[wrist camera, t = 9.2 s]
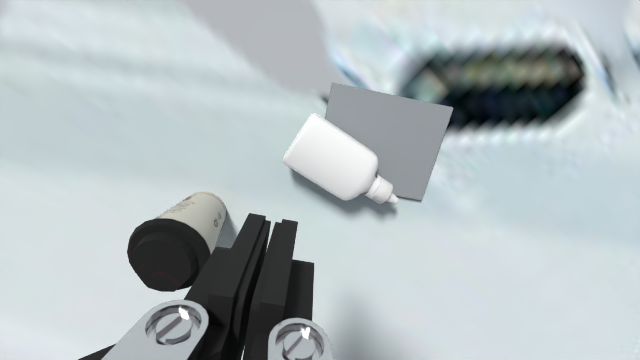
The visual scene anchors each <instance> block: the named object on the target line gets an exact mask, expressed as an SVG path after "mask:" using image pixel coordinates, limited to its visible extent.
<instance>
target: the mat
mask: <svg viewBox="0 0 640 360" xmlns="http://www.w3.org/2000/svg"><path fill="white" fill-rule="evenodd" d="M452 111H453V108H452V107H448V106H443V105H438V104H433V103H428V102H424V101H419V100H414V99H409V98H404V97H399V96H395V95H390V94H385V93H380V92H375V91H371V90H366V89H361V88H356V87H351V86H346V85H342V84H337V83H332V86H331V91H330V96H329V101H328V106H327V111H326V116H325V119H326V120H327V121H329V122H330V123H332V124H333V125H335V126H336V127H338V128H339V129H341V130H342V131H344V132H345V133H347V134H348V135H350V136H351V137H352V138H354V139H355V140H357V141H358V142H360V143H361V144H363V145H364V146H366V147H367V148H368V149H370V150H371V151H373V152H374V153H375V154H376V156H377V158H378V168H377V171H376V174H378V175H379V176H381V177H382V178H384V179H385V180H387V181H388V182H390V183H391V184H392V185H393V190H392V193H393V194H394V195H395V196H401V197H406V198H412V199H417V200H422V198H423V195H424V192H425V189H426V186H427V184H428V181H429V178H430V175H431V172H432V169H433V166H434V163H435V160H436V157H437V154H438V151H439V148H440V146H441V143H442V140H443V137H444V134H445V131H446V128H447V125H448V122H449V119H450V116H451V113H452Z"/></svg>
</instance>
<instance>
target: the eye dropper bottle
mask: <svg viewBox="0 0 640 360" xmlns="http://www.w3.org/2000/svg"><path fill="white" fill-rule="evenodd" d="M283 163H284V164H285V165H286V166H288V167H290V168H291V169H293V170H294V171H296V172H298V173H299V174H301V175H302V176H304V177H306V178H307V179H309V180H310V181H312V182H314V183H315V184H317V185H318V186H320V187H322V188H323V189H325V190H326V191H328V192H330V193H331V194H333V195H335V196H336V197H338V198H340V199H342V200H344V201H348V200H351V199H353V198H355V197H357V196H358V195H360V194H361V193H363V194H364V195H365V196H367V197H368V198H370V199H372V200H373V201H375V202H376V203H378V204H382V203H384V202H385V201H388V202H391V203H393V204H396V203H397V202H398V198H397V197H396V196H395V195H394V194H393V193H392V190H393V185H392V184H391V183H390V182H388V181H387V180H385V179H384V178H382V177H381V176H379V175H378V174H376V171H377V168H378V158H377V156H376V154H375V153H374V152H373V151H371V150H370V149H368V148H367V147H366V146H364V145H363V144H361V143H360V142H358V141H357V140H355V139H354V138H352V137H351V136H350V135H348V134H347V133H345V132H344V131H342V130H341V129H339V128H338V127H336V126H335V125H333V124H332V123H330V122H329V121H327V120H326V119H324V118H323V117H321V116H320V115H318V114H316V113H313V114H311V115H310V116H309V117H308V119H307V120H306V122H305V123H304V125H303V126H302V128H301V129H300V131H299V133H298V134H297V136H296V137H295V139H294V140H293V142H292V144H291V145H290V147H289V148H288V150H287V152H286V153H285V155H284V158H283Z"/></svg>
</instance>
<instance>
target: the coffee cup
mask: <svg viewBox="0 0 640 360" xmlns="http://www.w3.org/2000/svg"><path fill="white" fill-rule="evenodd" d="M225 217H226V207H225V205H224V203H223V202H222V200H221V199H220V198H219V197H217V196H216V195H214V194H212V193H209V192H197V193H194V194H193V195H191V196H189V197H188V198H186V199H185V200H183V201H182V202H180V203H178V204H177V205H175V206H174V207H172V208H171V209H169V210H167V211H166V212H164V213H163V214H161V215H160V216H158V217H156V218H155V219H153V220H149V221H145V222H144V223H142V224H141V225H140V226H138V227H137V228H136V229H135V230H134V232H133V233H132V235H131V237H130V240H129V244H128V250H127V254H128V258H129V263H130V264H131V266H132V268H133V269H134V271H135V272H136V273H137V275H138V276H139V278H140V279H141V280H142V281H143V283H144V284H145V285H146V286H147V287H148V288H151V289H155V290H158V291H167V292H174V291H176V290H180V289H184V288H188V287H190V286H192V285H193V283H194V282H195V280H196V278H197V277H198V275H199V273H200V272H201V270H202V268H203V267H204V265H205V263H206V262H207V260H208V259H209V257H210V255H211V254H212V252H213V250H214V248H215V245H216V242H217V239H218V237H219V234H220V231H221V229H222V226H223V223H224V220H225Z"/></svg>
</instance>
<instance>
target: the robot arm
mask: <svg viewBox="0 0 640 360" xmlns="http://www.w3.org/2000/svg"><path fill="white" fill-rule="evenodd" d="M265 218H266V216H263V215H257V214H251V213H249V215H248V217H247V219H246V221H245V223H244V225H243V227H242V229H241V230H240V232H239V234H238V236H237V238H236V240H235V242H234V244H233V246H232V248H231V249H228V248H222V247H216V248H215V249H214V250H213V252H212V254H211V255H210V257H209V259H208V260H207V262H206V263H205V265H204V267H203V268H202V270H201V272H200V273H199V275H198V277H197V278H196V280H195V282H194V283H193V285H192V287H191V288H190V290H189V292H188V293H187V295H186V297H185V298H184V300H172V301H169V302H165V303H162V304H160V305H158V306H156V307H154V308H152V309H151V310H150V311H148V312H147V313H146V314H145V315H144V316H143V317H142V318H141V319H140V320H139V321H138V322H137V323H136V324H135V325H134V326H133V327H132V328H131V329H130V330H129V331H128V332H127V333H126V334H125V335H124V336H123V338H122V339H121V340H120V341H119V342H118V343H116V344H114V345H112V346H109V347H107V348H105V349H102V350H100V351H97V352H95V353H93V354H90V355H88V356H85V357H83V358H81V359H78V360H241V357H242V353H243V350H244V355H243V360H334V358H333V354H332V349H331V344H330V341H329V338H328V335H327V334H326V333H325V331H324V330H323V329H322V328H321V327H320V326H318V325H317V324H316V323H314V322H312V307H313V281H314V263H311V262H305V261H299V260H293V259H292V257H293V250H294V244H295V238H296V231H297V225H298V222H296V221H291V220H285V219H282V223H278V222H275V226H274V229H273V232H272V235H271V239H270V242H269V245H268V248H267V244H268V237H269V231H270V224H271V221H267V220H265ZM266 250H267V252H266ZM244 346H245V348H244Z"/></svg>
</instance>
